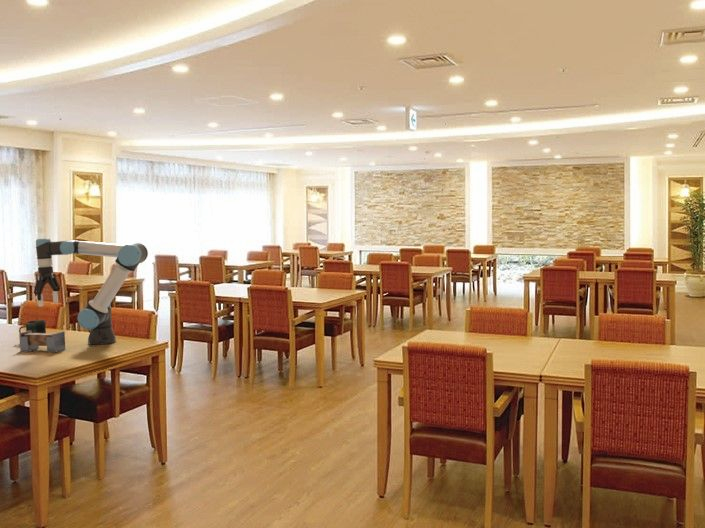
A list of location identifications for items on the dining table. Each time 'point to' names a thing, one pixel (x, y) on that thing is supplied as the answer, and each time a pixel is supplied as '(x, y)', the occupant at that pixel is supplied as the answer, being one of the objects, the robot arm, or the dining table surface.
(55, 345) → the bracket
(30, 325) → the mug
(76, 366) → the dining table surface
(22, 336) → the bracket
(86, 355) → the dining table surface
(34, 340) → the rail
